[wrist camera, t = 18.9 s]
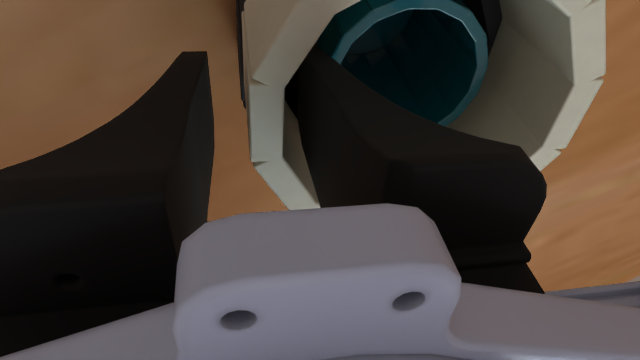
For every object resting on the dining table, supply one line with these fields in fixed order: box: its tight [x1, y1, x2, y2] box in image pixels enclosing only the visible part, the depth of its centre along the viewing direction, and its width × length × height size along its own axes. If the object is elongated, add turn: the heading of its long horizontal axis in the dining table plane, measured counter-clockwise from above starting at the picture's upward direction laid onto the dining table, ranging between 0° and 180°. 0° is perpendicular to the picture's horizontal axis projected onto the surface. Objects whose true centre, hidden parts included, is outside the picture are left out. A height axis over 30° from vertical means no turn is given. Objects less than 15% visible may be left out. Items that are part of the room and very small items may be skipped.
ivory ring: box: [242, 0, 606, 210], centre depth 13 cm, size 9×9×4 cm
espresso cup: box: [311, 0, 488, 127], centre depth 15 cm, size 5×5×6 cm
